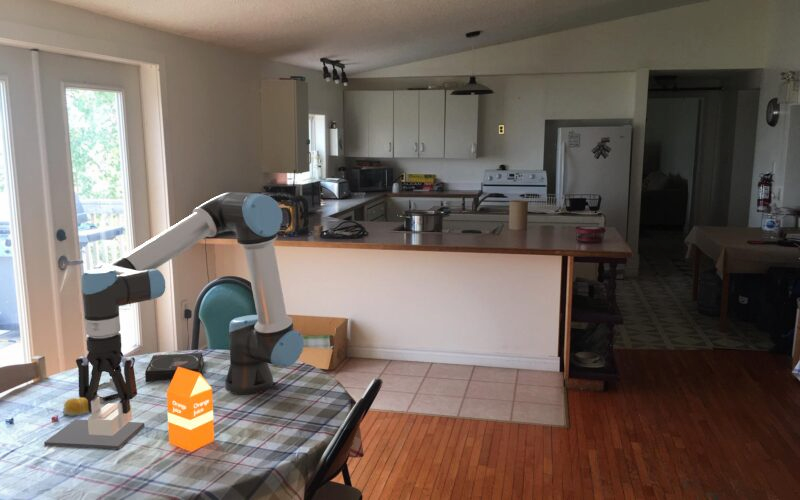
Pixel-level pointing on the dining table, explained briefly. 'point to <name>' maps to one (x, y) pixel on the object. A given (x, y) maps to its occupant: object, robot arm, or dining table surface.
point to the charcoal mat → (92, 436)
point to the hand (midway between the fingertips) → (110, 424)
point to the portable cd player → (172, 365)
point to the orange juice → (190, 410)
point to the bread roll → (76, 406)
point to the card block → (106, 420)
